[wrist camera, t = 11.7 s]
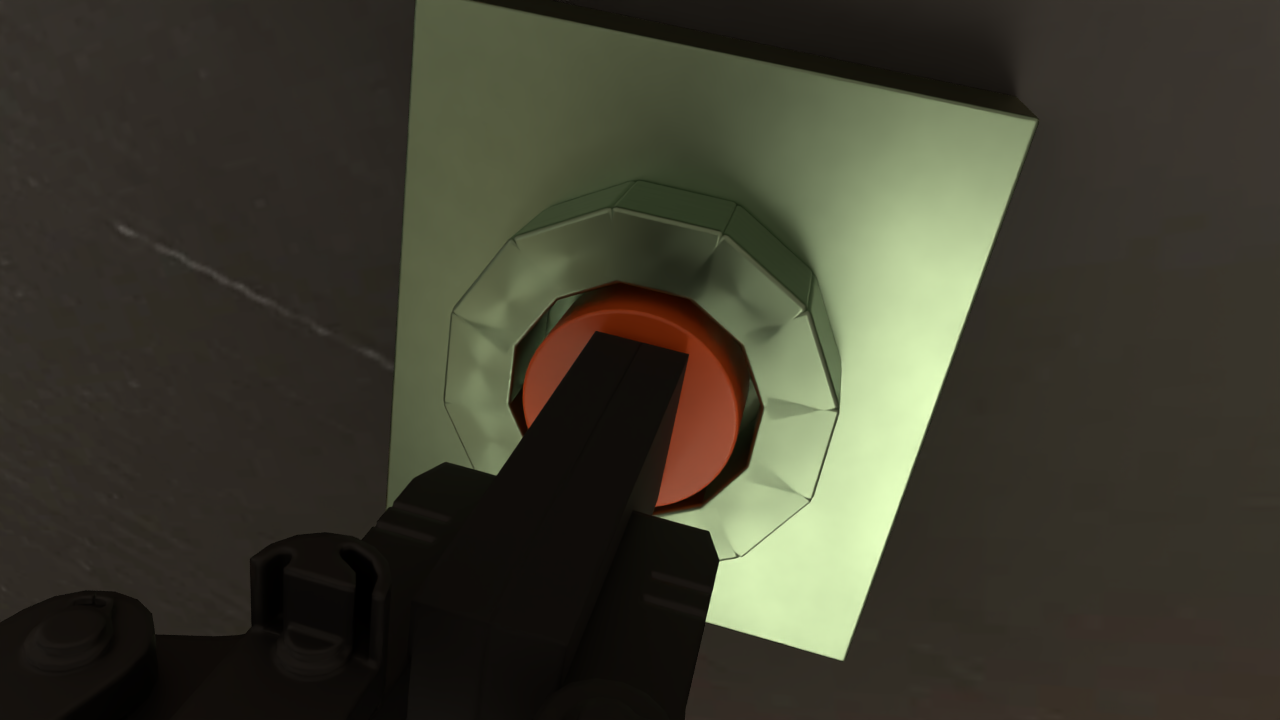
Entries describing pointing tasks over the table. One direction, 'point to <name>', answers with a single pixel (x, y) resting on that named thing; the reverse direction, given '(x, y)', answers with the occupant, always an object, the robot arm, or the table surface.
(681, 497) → the button
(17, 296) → the table surface
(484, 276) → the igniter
